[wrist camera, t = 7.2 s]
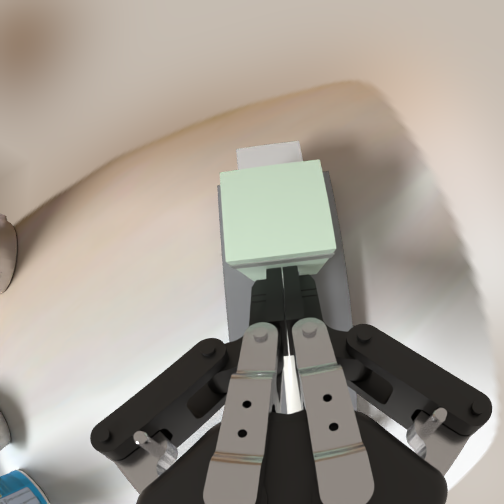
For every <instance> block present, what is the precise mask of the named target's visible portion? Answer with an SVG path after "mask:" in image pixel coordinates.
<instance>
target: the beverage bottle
mask: <svg viewBox="0 0 504 504" xmlns="http://www.w3.org/2000/svg"><path fill="white" fill-rule="evenodd" d="M0 504H50V503H49V501H48V499H47V497H46V496H45V494H44V493H43V491H42V490H41V489H40V488H39V486H38V485H37V484H36V483H35V482H34V481H33V480H32V479H31V478H30V477H29V476H28V475H27V474H26V473H24V472H22V471H20V470H14V471H12V472H10V473H8V474H6V475H3V476H0Z"/></svg>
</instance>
